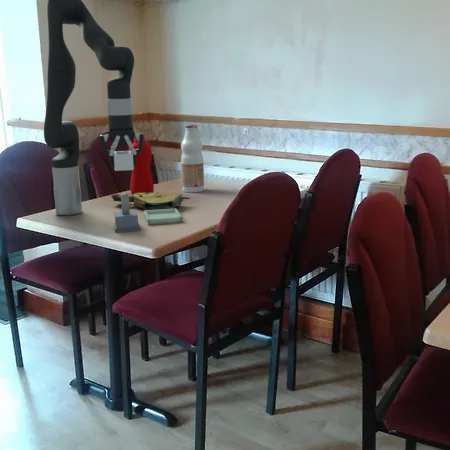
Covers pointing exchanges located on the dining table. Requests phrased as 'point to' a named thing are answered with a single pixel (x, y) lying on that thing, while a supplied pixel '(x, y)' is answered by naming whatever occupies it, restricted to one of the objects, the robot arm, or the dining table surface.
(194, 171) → the fruit juice
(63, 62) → the robot arm
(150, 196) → the pulley block
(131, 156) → the gray open box
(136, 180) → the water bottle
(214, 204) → the dining table surface
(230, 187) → the dining table surface
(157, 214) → the tray
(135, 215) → the grey peg stand
